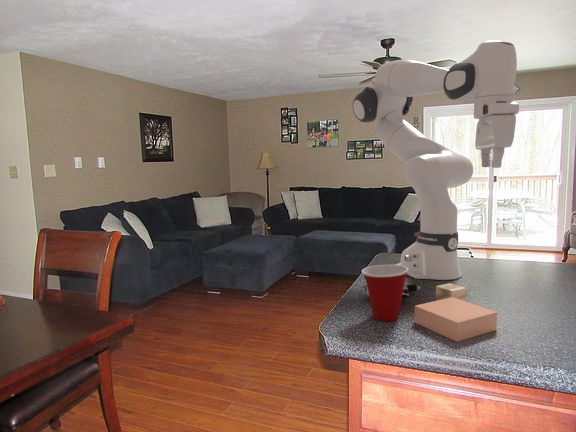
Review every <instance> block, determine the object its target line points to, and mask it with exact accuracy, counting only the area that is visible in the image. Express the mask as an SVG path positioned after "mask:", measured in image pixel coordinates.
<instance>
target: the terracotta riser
mask: <svg viewBox="0 0 576 432" xmlns="http://www.w3.org/2000/svg"><path fill="white" fill-rule="evenodd" d="M497 321H498V312H497V311H494V310H492V309H489V308H486V307H483V306H479V305H476V304H474V303H471V302H469V301H466V300H465V301H462V300H459V299H456V298H453V297H451V298H446V299H442V300H438V301H436V300H434V301H429V302H425V303H422V304H417V305H414V323H415V324H417V325H419V326H421V327H424V328H426V329H428V330H430V331H432V332H434V333H437V334H439V335H441V336H443V337H446V338H448V339H450V340H452V341H455V342H461V341H464V340H468V339H471V338H474V337H478V336H481V335H484V334H487V333H488V334H489V333H490V332H494V331H497V327H498V326H497V324H498V323H497Z"/></svg>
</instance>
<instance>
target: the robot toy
mask: <svg viewBox="0 0 576 432" xmlns="http://www.w3.org/2000/svg"><path fill="white" fill-rule="evenodd" d="M407 284H408V283H407V281H405V283H404V289H403V295H402V300H405V299H406V298H408V297H409V296H410V293H412V292H413V293H414V292H418V291H417V290H421V286H419V285H417V284H416V283H415V284H414V283H413V284H408V285H407ZM359 287H360V288H365V290H364V291H365V292H366V294H367V296H369V292H368V287H367V284H366V285H359Z"/></svg>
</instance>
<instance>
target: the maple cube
mask: <svg viewBox="0 0 576 432" xmlns="http://www.w3.org/2000/svg"><path fill="white" fill-rule="evenodd" d="M466 291H467V288H466V287H465V286H464V287H463V286H461V285H457V284H454V283H450V282H448V283H444V284H439V285H436V286H435V301H438V300H442V299H446V298H451V297H453V298H456V299H459V300H462V301H465V302H466V301H467V300H466V296H467V295H466V294H467V292H466Z"/></svg>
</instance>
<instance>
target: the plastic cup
mask: <svg viewBox="0 0 576 432" xmlns="http://www.w3.org/2000/svg"><path fill="white" fill-rule="evenodd" d="M407 272H408V268H407V267H405V266H401V265H396V264H378V265H371V266H367V267H364V268H363V269H361V274H362V275H363V277H364V280H365V283H366V285H367V287H368V292H369V295H368V297H369V303H370V305H371V311H372V312H371V313H372V316H373V318H374V319H375V320H377V321H381V322H394V321H397V319H399V316H400V309H401V305H402V302H403V299H402V295H403V289H404V283H405V282H406V279H407V276H408V275H407Z"/></svg>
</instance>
